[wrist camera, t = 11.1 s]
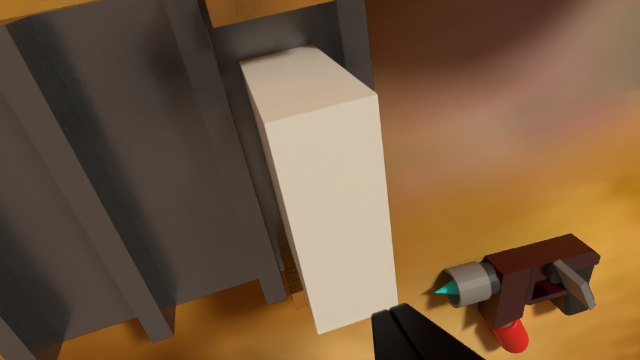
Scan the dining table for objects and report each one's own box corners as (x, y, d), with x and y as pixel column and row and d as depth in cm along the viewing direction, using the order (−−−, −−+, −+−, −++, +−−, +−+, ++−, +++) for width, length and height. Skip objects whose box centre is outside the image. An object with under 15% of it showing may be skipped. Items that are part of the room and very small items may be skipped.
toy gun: (425, 259, 26) (468, 316, 22) (586, 217, 28) (652, 262, 24) (421, 358, 31) (455, 420, 27) (558, 316, 33) (610, 367, 29)
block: (339, 205, 21) (398, 307, 15) (282, 223, 20) (318, 334, 14) (312, 44, 17) (377, 94, 11) (238, 61, 16) (264, 123, 10)
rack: (371, 230, 23) (401, 277, 20) (48, 331, 21) (19, 405, 17) (333, -50, 16) (370, -51, 13) (-167, 55, 14) (-287, 89, 10)
